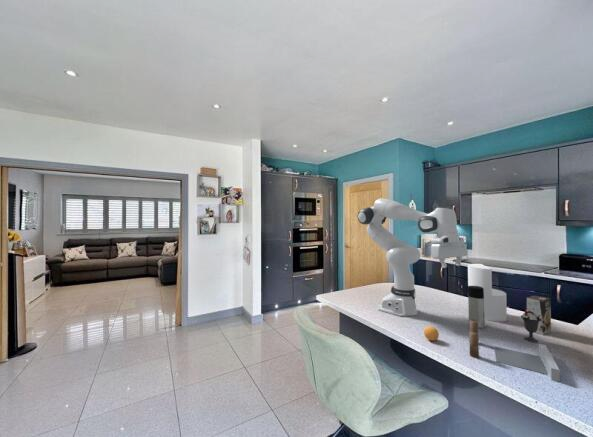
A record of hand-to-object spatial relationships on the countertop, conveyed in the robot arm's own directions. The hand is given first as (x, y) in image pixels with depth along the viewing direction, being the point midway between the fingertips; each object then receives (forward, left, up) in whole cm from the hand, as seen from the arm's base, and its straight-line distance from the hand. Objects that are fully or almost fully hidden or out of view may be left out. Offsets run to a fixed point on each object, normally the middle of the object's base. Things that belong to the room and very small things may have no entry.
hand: (451, 266), depth 122 cm
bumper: (+31, -14, -32) cm, 47 cm away
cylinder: (+15, +34, -32) cm, 49 cm away
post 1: (+9, -8, -32) cm, 34 cm away
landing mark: (+23, -14, -32) cm, 42 cm away
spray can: (+10, +14, -32) cm, 36 cm away
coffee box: (+35, +24, -32) cm, 53 cm away
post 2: (+9, -21, -32) cm, 39 cm away
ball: (-7, -16, -29) cm, 34 cm away
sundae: (+30, +9, -32) cm, 45 cm away
